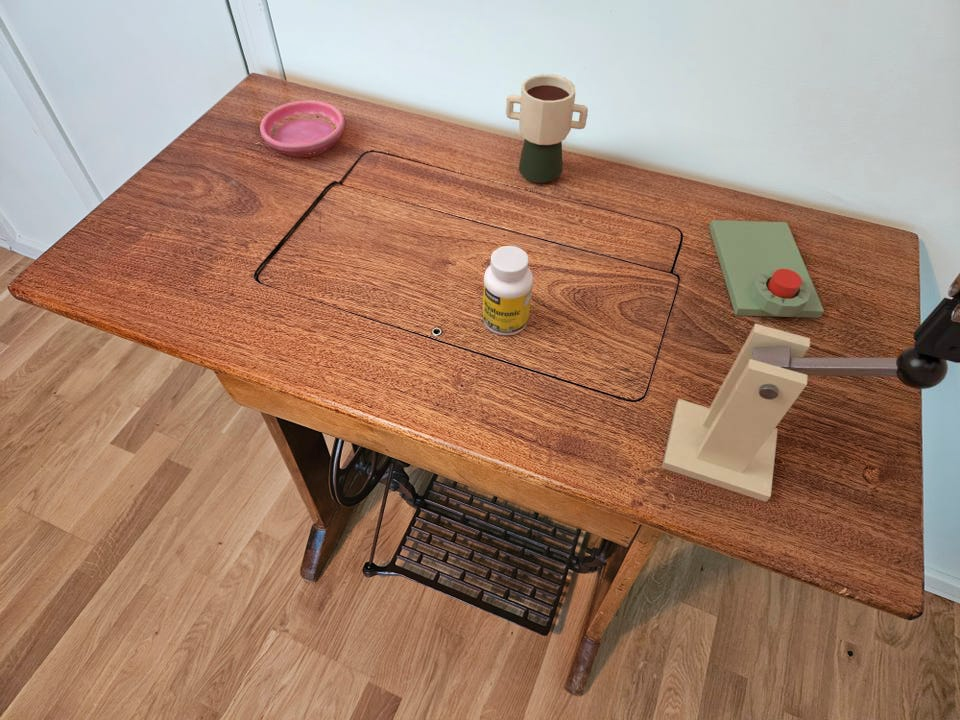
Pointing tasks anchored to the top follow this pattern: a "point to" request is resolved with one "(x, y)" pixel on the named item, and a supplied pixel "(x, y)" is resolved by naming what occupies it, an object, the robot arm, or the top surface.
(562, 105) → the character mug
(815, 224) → the top surface
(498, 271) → the supplement bottle
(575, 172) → the top surface
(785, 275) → the button
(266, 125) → the saucer
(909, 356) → the lever
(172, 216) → the top surface
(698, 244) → the top surface
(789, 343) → the switch bracket
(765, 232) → the button box
